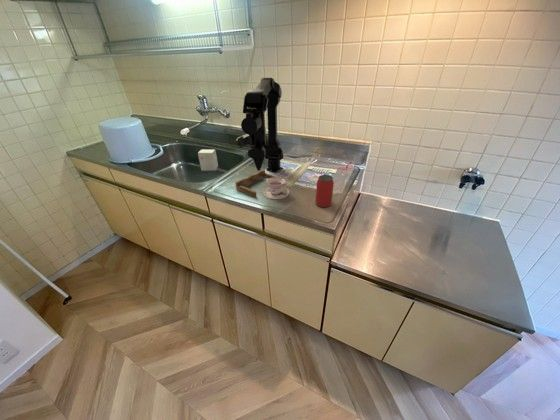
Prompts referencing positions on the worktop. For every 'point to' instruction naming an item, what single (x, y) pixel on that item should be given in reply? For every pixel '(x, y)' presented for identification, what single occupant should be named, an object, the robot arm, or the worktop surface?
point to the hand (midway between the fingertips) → (259, 166)
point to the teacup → (275, 188)
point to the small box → (208, 160)
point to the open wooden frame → (249, 180)
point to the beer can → (324, 190)
